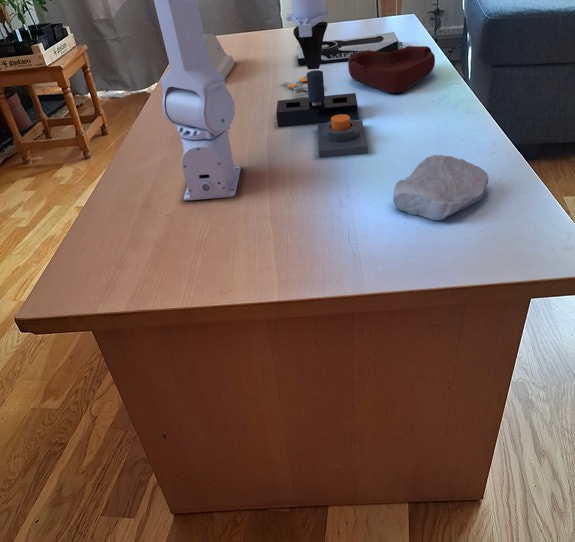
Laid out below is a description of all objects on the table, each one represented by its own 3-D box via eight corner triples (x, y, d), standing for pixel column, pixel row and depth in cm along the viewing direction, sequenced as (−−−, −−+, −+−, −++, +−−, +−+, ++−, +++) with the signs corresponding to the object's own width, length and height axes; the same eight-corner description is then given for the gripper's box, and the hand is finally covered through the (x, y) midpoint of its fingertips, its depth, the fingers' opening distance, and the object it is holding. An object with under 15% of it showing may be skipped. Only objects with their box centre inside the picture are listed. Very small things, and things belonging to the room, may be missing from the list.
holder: (358, 120, 102) (357, 104, 100) (278, 127, 103) (276, 112, 101) (355, 108, 107) (355, 92, 105) (279, 115, 108) (277, 100, 106)
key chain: (325, 93, 115) (324, 89, 114) (290, 99, 114) (290, 95, 114) (313, 75, 125) (312, 71, 124) (281, 80, 124) (281, 76, 124)
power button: (351, 130, 92) (350, 120, 91) (331, 132, 92) (331, 122, 91) (349, 123, 95) (349, 113, 94) (331, 124, 95) (330, 115, 94)
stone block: (489, 198, 78) (427, 171, 83) (499, 171, 75) (434, 144, 79) (450, 241, 72) (385, 209, 76) (459, 213, 68) (391, 181, 73)
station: (367, 154, 90) (367, 136, 88) (319, 158, 91) (317, 141, 89) (362, 127, 99) (361, 111, 97) (318, 131, 100) (316, 115, 98)
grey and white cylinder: (328, 115, 105) (325, 70, 100) (322, 121, 103) (319, 76, 98) (313, 114, 106) (310, 70, 101) (308, 120, 104) (303, 75, 99)
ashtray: (352, 101, 110) (351, 76, 107) (347, 74, 123) (346, 51, 120) (443, 92, 108) (444, 66, 105) (428, 66, 121) (429, 43, 118)
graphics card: (402, 40, 127) (295, 52, 129) (402, 55, 129) (297, 66, 131) (396, 29, 135) (295, 40, 137) (396, 43, 137) (297, 54, 139)
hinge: (219, 85, 126) (197, 44, 121) (202, 93, 128) (179, 52, 123) (235, 62, 139) (215, 24, 134) (219, 70, 141) (199, 32, 136)
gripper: (289, -22, 97) (297, 57, 106) (276, -4, 86) (286, 83, 94) (329, -25, 96) (333, 54, 104) (321, -8, 85) (327, 80, 93)
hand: (313, 68), depth 99 cm, fingers closed
